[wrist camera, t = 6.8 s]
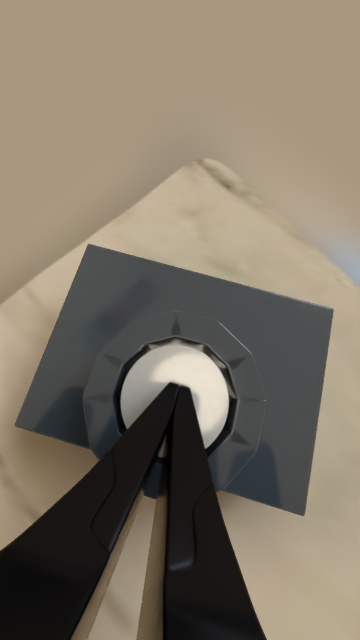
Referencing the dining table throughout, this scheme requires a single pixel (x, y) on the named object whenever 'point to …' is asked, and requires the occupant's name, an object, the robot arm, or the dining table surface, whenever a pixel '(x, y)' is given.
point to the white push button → (183, 370)
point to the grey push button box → (199, 333)
